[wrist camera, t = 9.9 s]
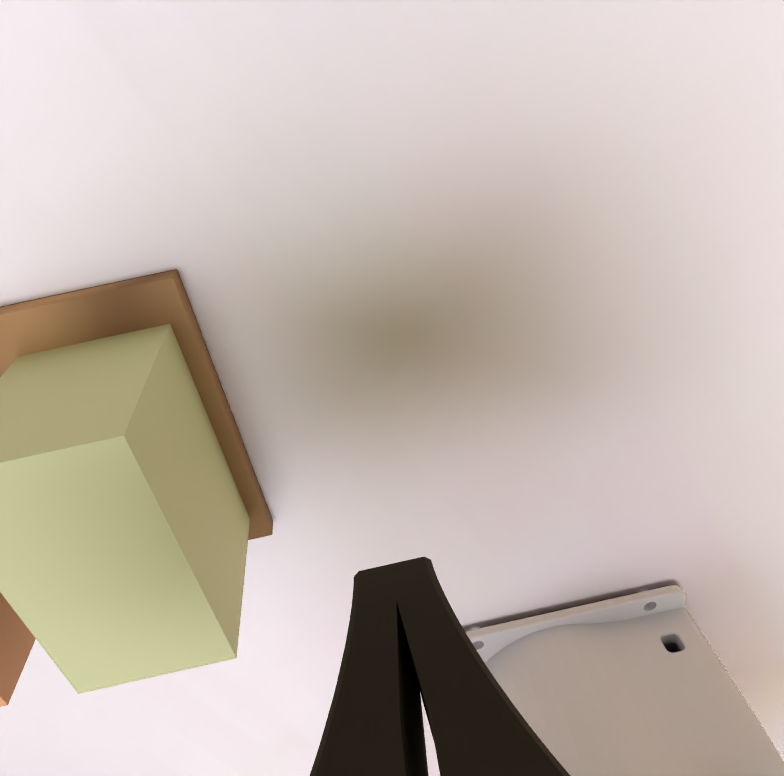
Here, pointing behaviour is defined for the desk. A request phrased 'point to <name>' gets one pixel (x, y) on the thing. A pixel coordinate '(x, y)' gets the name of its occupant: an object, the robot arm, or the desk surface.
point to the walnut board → (128, 314)
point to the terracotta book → (12, 649)
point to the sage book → (118, 511)
